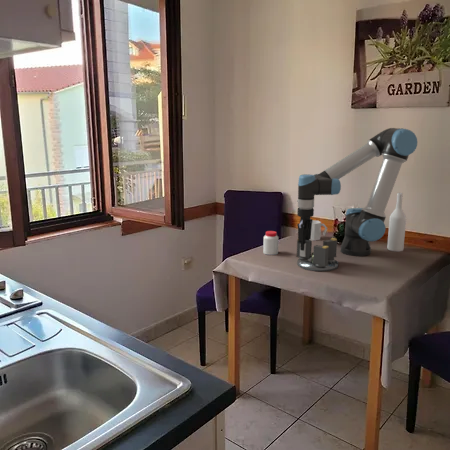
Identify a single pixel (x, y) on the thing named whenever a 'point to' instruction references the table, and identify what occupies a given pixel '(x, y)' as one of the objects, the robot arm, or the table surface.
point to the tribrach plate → (311, 266)
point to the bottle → (397, 227)
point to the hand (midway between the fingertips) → (303, 255)
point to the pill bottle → (270, 243)
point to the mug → (317, 230)
